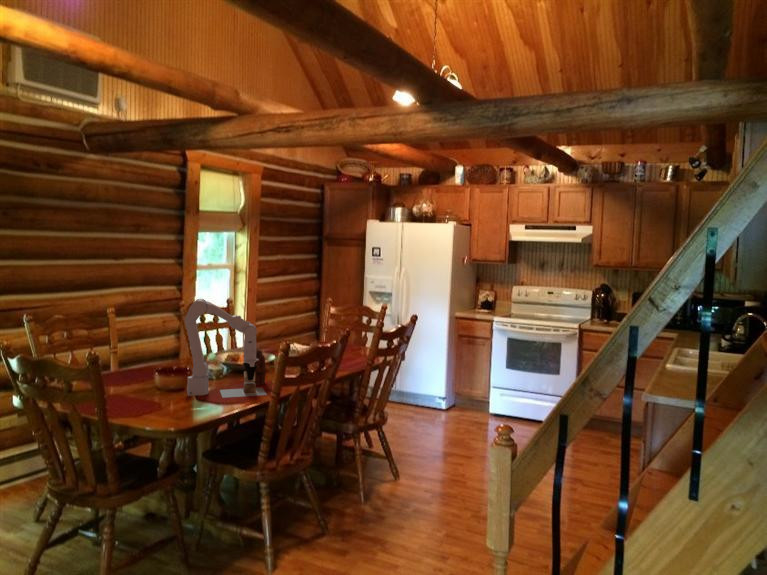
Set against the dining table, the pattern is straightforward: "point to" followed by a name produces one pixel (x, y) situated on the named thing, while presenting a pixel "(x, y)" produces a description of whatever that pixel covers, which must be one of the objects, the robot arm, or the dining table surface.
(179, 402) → the dining table surface
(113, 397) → the dining table surface
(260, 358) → the wooden figurine
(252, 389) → the walnut base block
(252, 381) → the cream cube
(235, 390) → the mat
